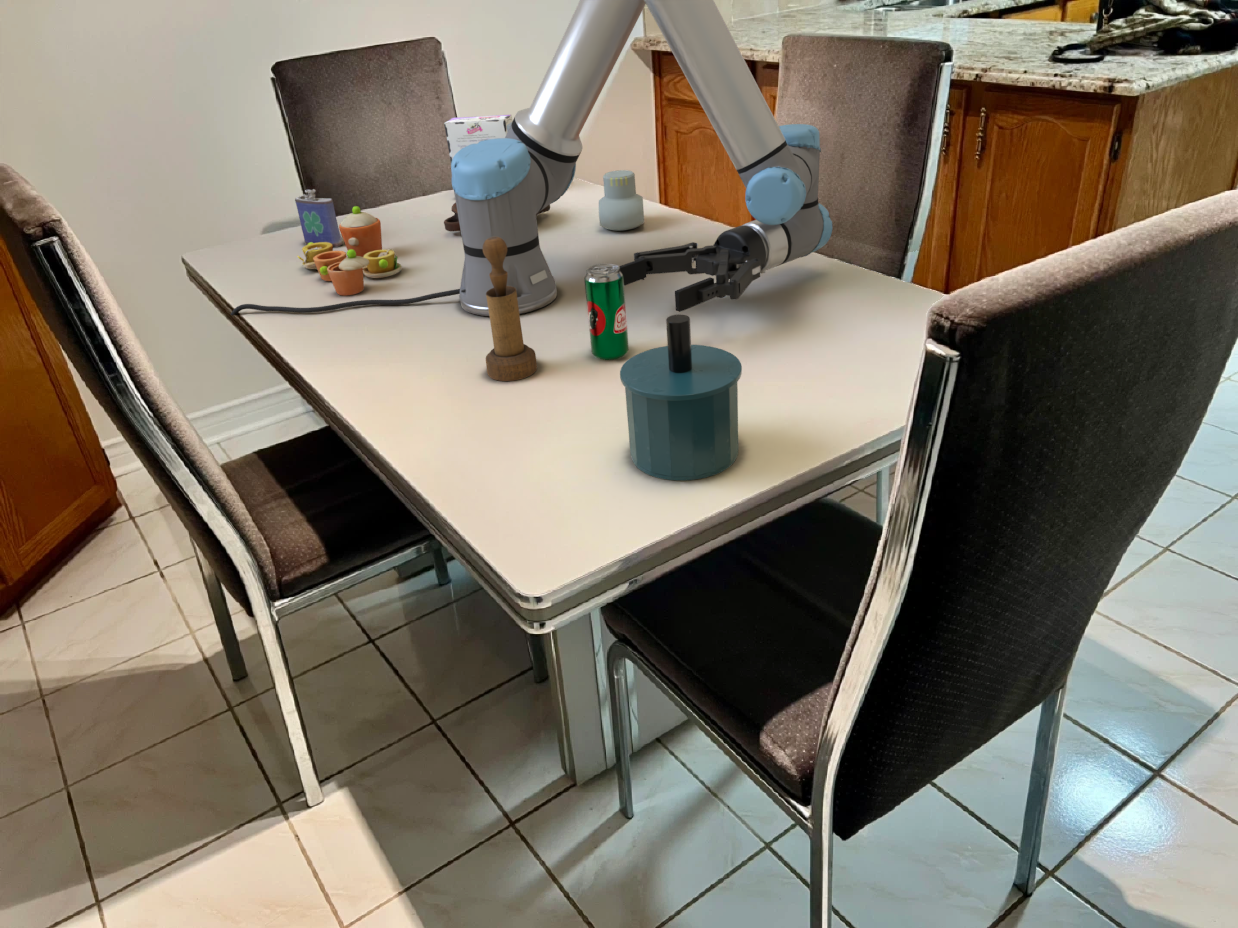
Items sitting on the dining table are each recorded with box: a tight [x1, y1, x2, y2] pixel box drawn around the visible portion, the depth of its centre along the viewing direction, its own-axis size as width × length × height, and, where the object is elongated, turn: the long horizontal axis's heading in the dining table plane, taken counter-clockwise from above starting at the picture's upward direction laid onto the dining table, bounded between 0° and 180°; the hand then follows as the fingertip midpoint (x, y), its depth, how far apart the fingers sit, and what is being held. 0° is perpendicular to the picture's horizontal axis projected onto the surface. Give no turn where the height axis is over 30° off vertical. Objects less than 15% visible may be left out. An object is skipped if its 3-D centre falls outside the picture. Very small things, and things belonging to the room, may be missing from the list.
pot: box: [624, 382, 739, 482], centre depth 100 cm, size 12×12×10 cm
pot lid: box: [619, 313, 743, 401], centre depth 96 cm, size 13×13×7 cm
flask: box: [294, 188, 343, 248], centre depth 182 cm, size 9×3×11 cm, turn 61°
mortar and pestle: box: [483, 237, 538, 382], centre depth 120 cm, size 7×6×18 cm
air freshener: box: [598, 169, 645, 232], centre depth 177 cm, size 11×8×10 cm
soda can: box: [583, 263, 630, 361], centre depth 124 cm, size 5×5×12 cm
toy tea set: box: [297, 205, 402, 296], centre depth 165 cm, size 26×16×10 cm, turn 29°
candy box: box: [443, 114, 513, 163], centre depth 205 cm, size 14×6×16 cm, turn 79°
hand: (641, 290), depth 127 cm, fingers open, 13 cm apart
